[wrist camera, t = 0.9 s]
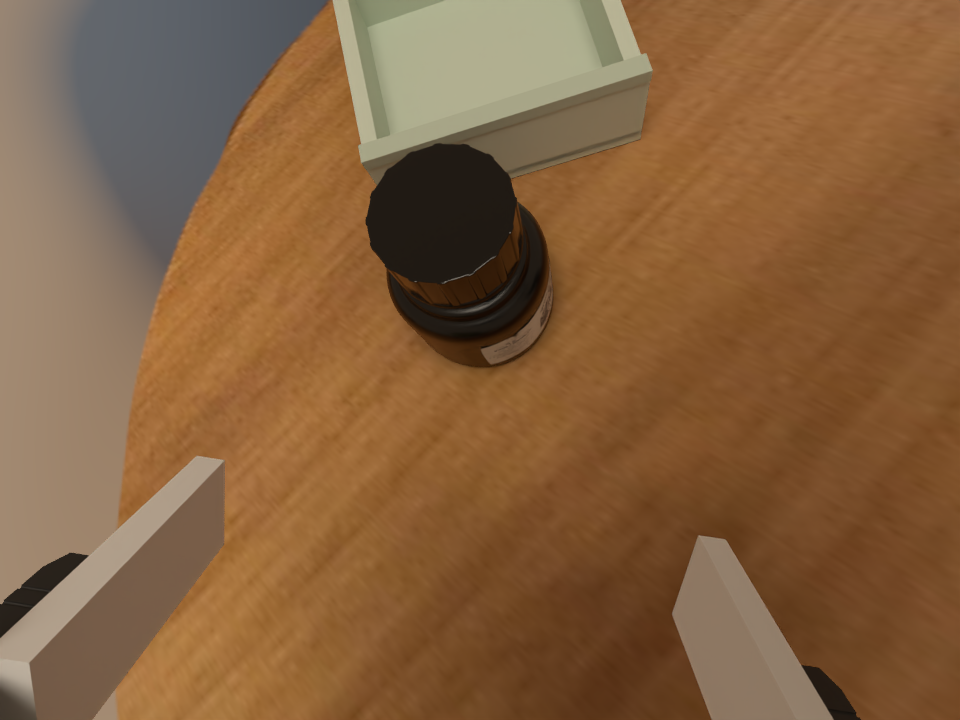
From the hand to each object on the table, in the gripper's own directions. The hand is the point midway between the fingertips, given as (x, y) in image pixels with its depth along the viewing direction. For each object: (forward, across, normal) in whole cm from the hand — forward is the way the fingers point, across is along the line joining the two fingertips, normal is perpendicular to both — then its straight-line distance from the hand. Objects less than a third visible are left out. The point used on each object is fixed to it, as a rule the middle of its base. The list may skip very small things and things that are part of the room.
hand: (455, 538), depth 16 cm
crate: (+31, -2, +15) cm, 35 cm away
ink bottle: (+22, 0, +2) cm, 22 cm away
